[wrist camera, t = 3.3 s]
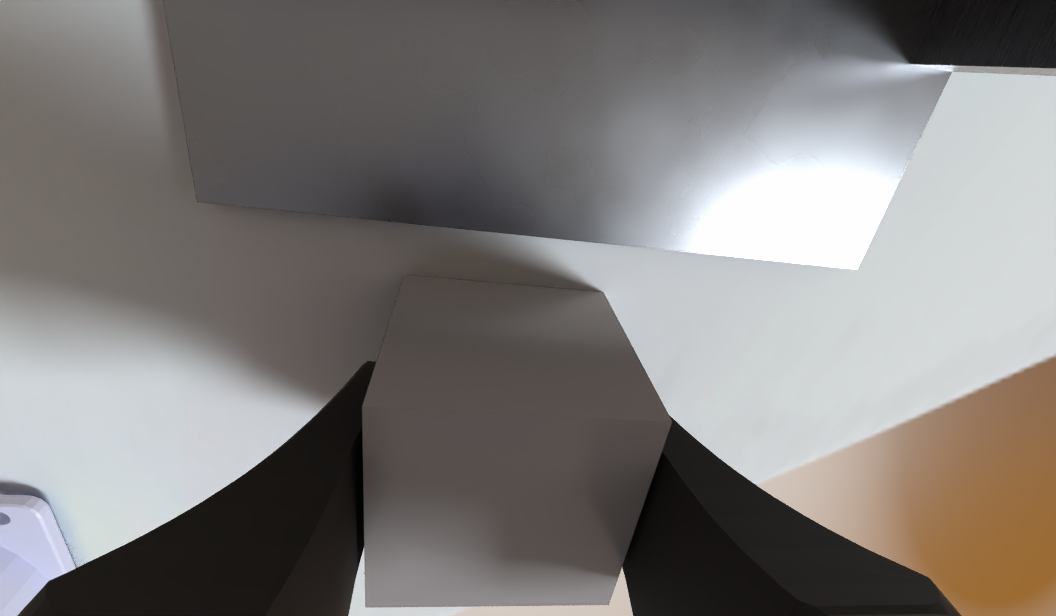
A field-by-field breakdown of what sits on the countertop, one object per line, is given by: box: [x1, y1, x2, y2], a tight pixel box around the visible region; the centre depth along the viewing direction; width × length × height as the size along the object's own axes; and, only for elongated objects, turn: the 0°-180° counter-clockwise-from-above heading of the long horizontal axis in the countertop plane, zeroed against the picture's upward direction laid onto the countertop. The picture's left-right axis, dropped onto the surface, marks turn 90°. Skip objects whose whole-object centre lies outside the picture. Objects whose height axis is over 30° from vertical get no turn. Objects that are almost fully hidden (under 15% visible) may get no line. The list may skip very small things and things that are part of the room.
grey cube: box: [362, 275, 672, 607], centre depth 11 cm, size 5×5×5 cm
